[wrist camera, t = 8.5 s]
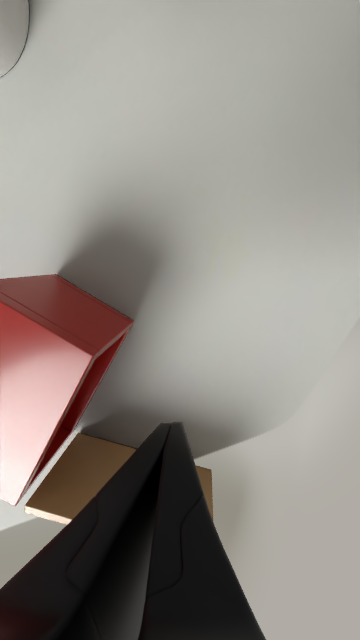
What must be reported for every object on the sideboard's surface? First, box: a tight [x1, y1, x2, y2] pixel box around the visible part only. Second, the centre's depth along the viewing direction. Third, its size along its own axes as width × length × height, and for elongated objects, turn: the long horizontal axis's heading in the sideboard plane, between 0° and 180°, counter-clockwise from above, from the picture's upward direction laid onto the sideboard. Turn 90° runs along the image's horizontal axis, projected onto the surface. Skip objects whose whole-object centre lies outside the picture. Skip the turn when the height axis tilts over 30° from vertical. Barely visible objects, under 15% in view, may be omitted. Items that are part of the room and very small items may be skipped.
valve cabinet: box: [0, 274, 134, 506], centre depth 18 cm, size 8×15×8 cm, turn 149°
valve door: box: [25, 433, 213, 525], centre depth 20 cm, size 6×15×8 cm, turn 77°
